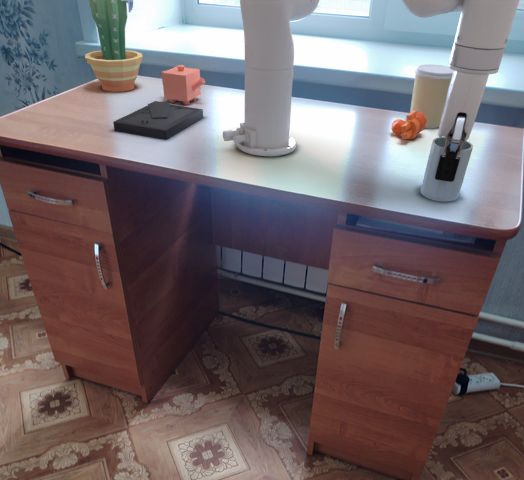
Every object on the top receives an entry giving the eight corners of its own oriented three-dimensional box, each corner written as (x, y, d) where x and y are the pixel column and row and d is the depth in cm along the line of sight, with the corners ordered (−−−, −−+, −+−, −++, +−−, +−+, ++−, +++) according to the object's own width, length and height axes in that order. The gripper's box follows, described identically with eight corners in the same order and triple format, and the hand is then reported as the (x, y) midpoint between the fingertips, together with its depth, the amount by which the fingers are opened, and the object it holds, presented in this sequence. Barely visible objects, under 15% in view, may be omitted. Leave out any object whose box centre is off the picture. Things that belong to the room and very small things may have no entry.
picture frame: (155, 110, 126) (114, 130, 113) (154, 100, 124) (112, 120, 112) (203, 117, 122) (166, 139, 110) (202, 107, 121) (165, 129, 108)
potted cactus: (120, 98, 133) (103, -19, 117) (77, 88, 139) (56, -24, 122) (158, 86, 143) (147, -23, 127) (117, 78, 149) (102, -28, 133)
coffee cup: (440, 118, 127) (453, 65, 120) (447, 130, 120) (461, 74, 112) (403, 116, 128) (414, 63, 120) (407, 128, 121) (419, 72, 113)
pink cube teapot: (199, 107, 128) (197, 71, 123) (157, 101, 131) (154, 66, 126) (212, 100, 134) (210, 65, 129) (171, 94, 137) (169, 60, 132)
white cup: (437, 204, 89) (451, 152, 83) (412, 189, 93) (424, 139, 87) (465, 197, 91) (481, 147, 85) (440, 184, 96) (453, 135, 90)
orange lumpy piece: (415, 118, 107) (430, 105, 115) (381, 124, 111) (398, 111, 119) (417, 142, 110) (431, 128, 118) (384, 147, 114) (400, 133, 122)
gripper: (452, 46, 85) (426, 153, 97) (448, 67, 72) (419, 187, 84) (499, 50, 83) (467, 158, 95) (503, 73, 71) (466, 194, 82)
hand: (445, 171), depth 89 cm, fingers closed on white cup, 6 cm apart
